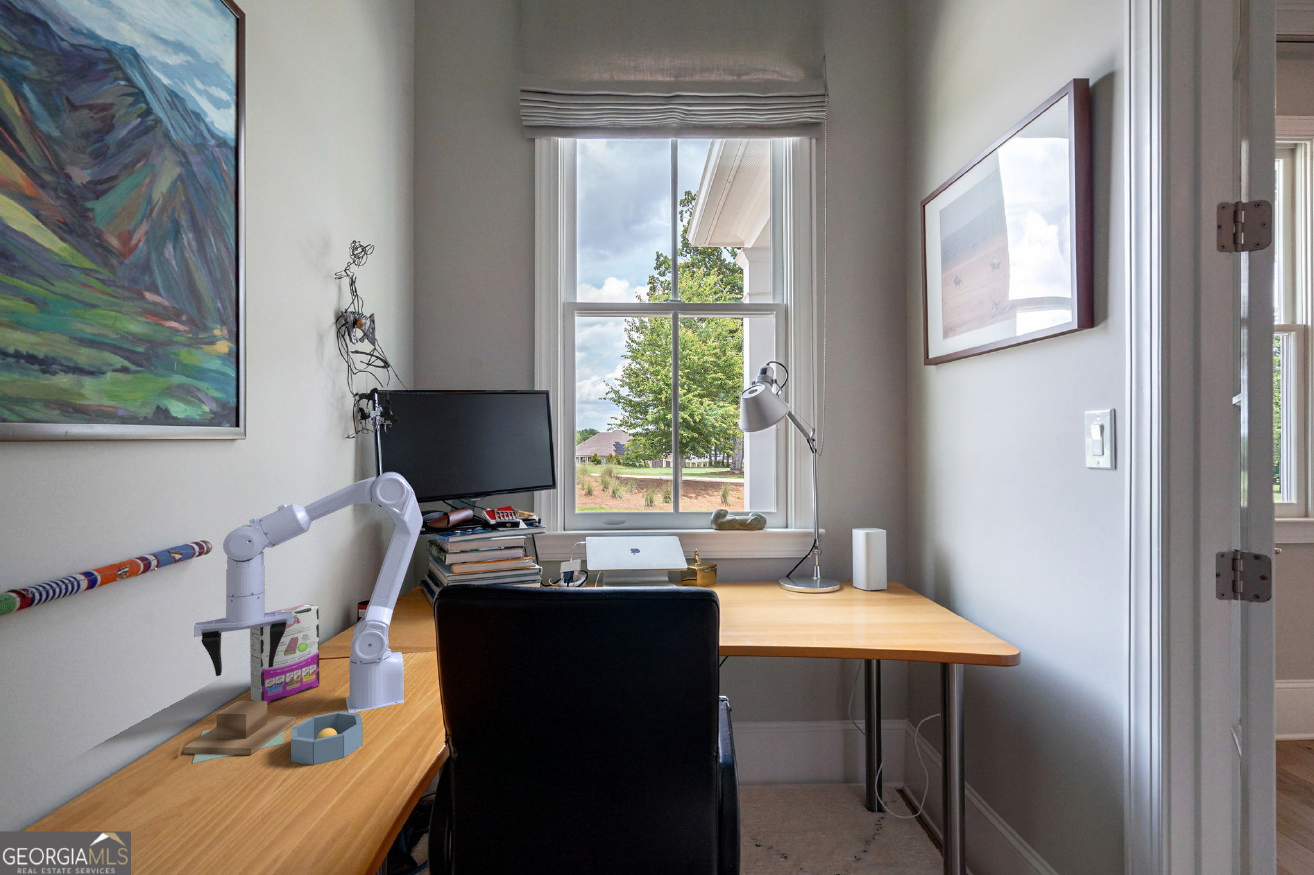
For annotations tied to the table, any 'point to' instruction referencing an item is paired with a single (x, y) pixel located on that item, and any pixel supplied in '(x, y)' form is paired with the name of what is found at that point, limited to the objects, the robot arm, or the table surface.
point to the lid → (240, 730)
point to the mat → (206, 757)
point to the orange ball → (326, 733)
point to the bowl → (326, 738)
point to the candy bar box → (286, 657)
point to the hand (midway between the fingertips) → (245, 670)
